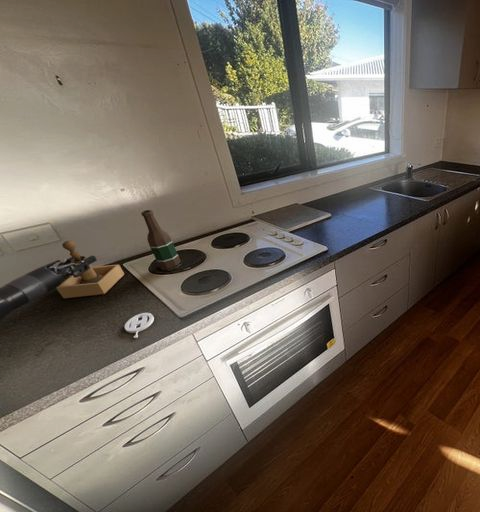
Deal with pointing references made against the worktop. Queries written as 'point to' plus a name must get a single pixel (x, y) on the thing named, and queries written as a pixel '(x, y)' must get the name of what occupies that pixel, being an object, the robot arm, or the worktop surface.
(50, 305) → the worktop surface
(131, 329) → the pendant
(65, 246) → the mortar and pestle
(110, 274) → the wooden tray
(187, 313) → the worktop surface
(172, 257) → the beer bottle
